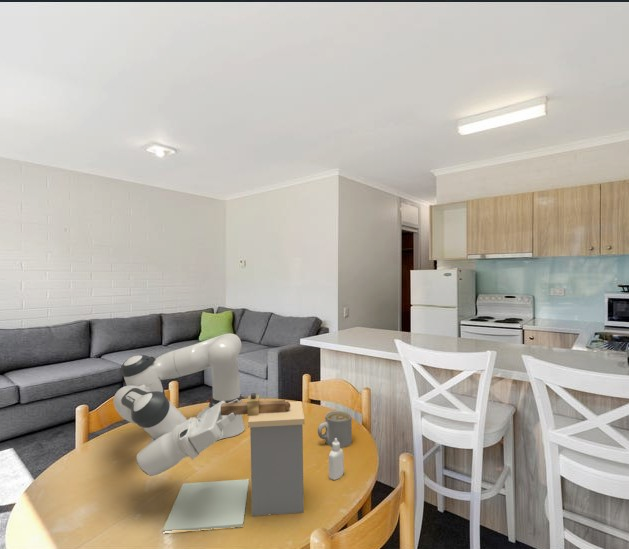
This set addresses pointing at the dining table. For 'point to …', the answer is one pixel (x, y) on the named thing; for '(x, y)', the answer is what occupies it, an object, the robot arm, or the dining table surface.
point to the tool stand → (277, 461)
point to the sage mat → (209, 505)
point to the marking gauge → (254, 406)
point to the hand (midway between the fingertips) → (236, 407)
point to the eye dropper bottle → (336, 461)
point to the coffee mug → (337, 428)
